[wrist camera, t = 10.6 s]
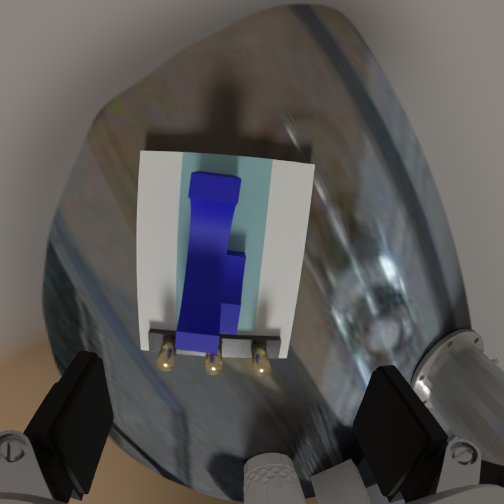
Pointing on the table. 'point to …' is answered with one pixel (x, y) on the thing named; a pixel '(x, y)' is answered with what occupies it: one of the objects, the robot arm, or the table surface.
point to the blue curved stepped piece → (210, 265)
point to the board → (241, 237)
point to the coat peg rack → (228, 347)
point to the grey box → (340, 485)
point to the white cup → (271, 480)
